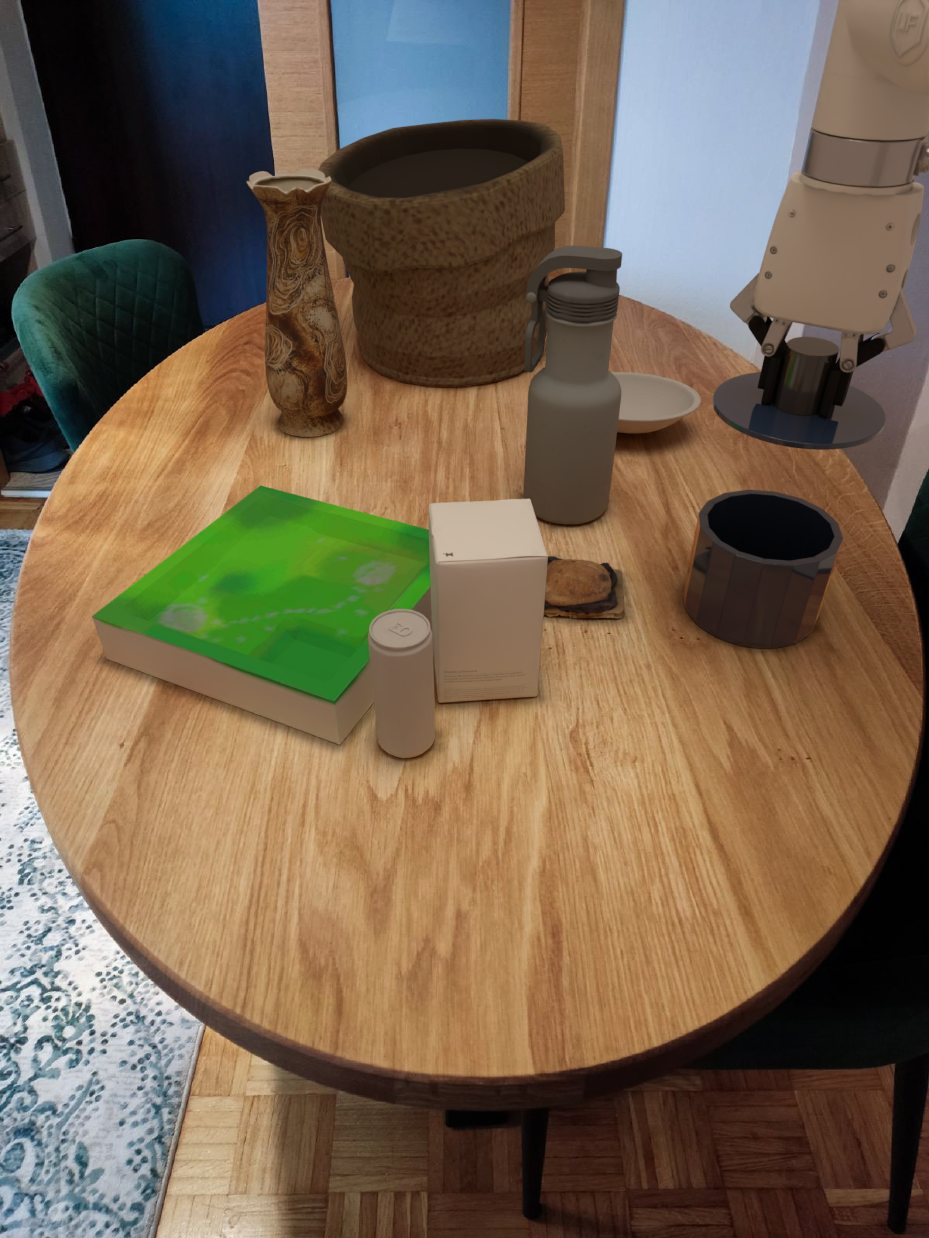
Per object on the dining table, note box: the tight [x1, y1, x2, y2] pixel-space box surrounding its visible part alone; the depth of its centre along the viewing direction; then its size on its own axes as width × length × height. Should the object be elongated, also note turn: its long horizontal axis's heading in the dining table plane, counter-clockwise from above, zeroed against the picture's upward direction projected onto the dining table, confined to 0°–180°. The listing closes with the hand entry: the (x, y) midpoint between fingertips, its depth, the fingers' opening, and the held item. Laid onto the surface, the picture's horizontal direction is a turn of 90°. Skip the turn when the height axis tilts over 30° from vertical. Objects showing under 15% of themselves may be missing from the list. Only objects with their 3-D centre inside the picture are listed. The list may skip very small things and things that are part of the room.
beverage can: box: [368, 609, 436, 759], centre depth 69 cm, size 5×5×12 cm
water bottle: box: [522, 245, 623, 526], centre depth 92 cm, size 10×10×28 cm
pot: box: [317, 118, 566, 388], centre depth 128 cm, size 35×35×30 cm
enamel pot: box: [683, 489, 844, 649], centre depth 83 cm, size 13×13×10 cm
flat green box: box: [91, 485, 432, 746], centre depth 83 cm, size 25×25×5 cm
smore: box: [544, 555, 626, 620], centre depth 87 cm, size 11×8×4 cm
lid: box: [711, 336, 887, 451], centre depth 71 cm, size 14×14×6 cm
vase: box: [245, 168, 348, 438], centre depth 108 cm, size 10×11×30 cm
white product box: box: [427, 498, 549, 703], centre depth 75 cm, size 9×9×15 cm
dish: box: [610, 371, 702, 434], centre depth 114 cm, size 18×14×5 cm
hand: (798, 402), depth 73 cm, fingers closed on lid, 4 cm apart
